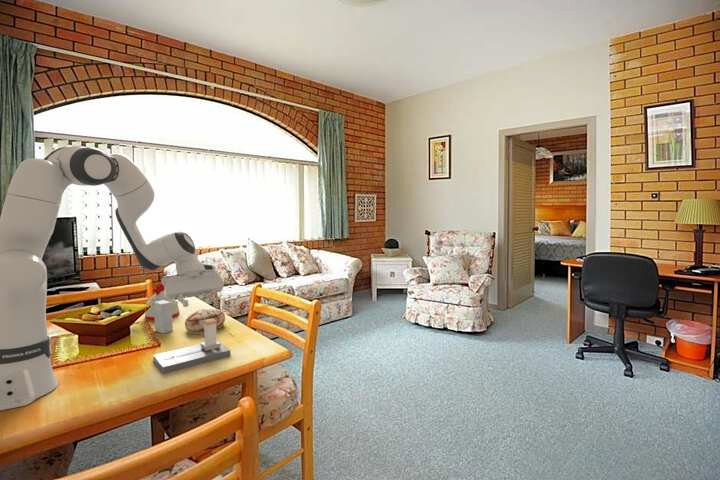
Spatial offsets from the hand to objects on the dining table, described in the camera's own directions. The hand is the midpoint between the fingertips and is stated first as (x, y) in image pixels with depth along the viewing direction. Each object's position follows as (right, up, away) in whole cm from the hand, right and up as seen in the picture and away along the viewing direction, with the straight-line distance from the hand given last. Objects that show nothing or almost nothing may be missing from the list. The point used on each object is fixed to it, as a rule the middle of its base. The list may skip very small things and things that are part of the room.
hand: (199, 303), depth 134 cm
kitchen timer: (-33, -12, +36) cm, 50 cm away
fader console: (+2, -17, -9) cm, 19 cm away
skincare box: (-22, -14, +16) cm, 31 cm away
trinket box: (-6, -14, +20) cm, 25 cm away
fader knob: (+6, -14, -6) cm, 16 cm away
